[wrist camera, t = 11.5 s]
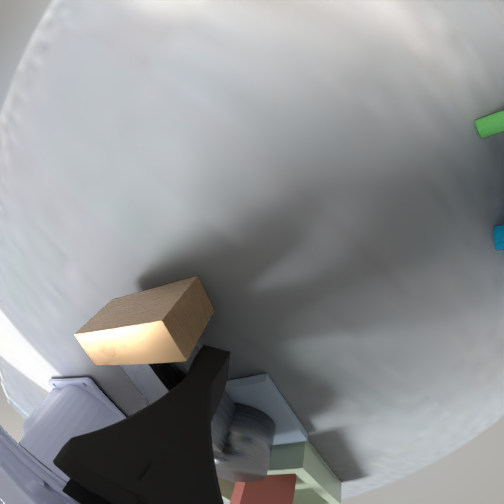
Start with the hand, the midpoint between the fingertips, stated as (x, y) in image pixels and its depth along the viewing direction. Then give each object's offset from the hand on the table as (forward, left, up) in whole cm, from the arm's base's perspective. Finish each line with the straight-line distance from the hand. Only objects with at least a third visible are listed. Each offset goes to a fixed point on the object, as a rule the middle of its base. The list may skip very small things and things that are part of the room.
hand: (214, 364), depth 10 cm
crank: (-2, -2, -1) cm, 3 cm away
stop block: (-5, -15, -2) cm, 16 cm away
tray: (-5, -15, -2) cm, 16 cm away
